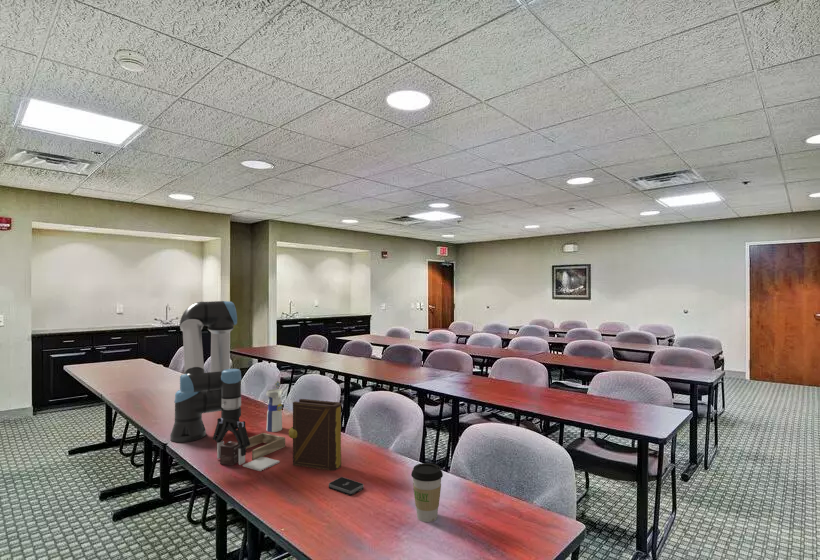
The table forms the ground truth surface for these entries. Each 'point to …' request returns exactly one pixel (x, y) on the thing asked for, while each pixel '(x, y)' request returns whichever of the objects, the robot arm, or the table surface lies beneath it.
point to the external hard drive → (346, 486)
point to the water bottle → (274, 409)
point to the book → (316, 434)
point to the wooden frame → (271, 446)
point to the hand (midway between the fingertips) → (231, 460)
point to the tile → (261, 463)
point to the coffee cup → (427, 490)
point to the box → (229, 453)
